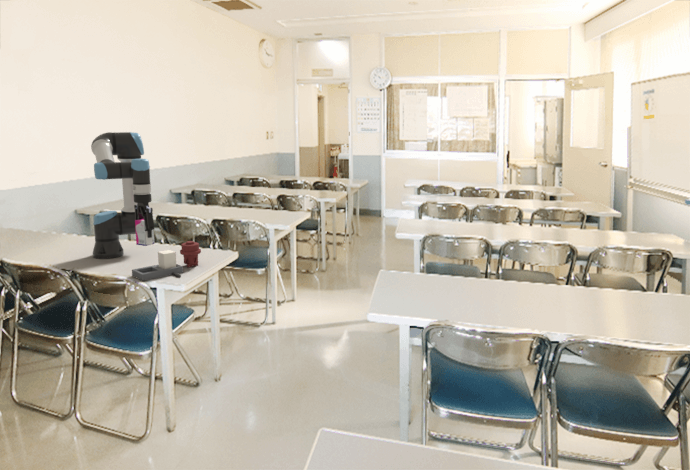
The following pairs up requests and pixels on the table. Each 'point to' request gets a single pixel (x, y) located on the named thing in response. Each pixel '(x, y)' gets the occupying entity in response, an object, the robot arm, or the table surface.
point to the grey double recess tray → (160, 267)
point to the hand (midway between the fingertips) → (145, 242)
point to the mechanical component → (190, 253)
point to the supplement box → (141, 232)
